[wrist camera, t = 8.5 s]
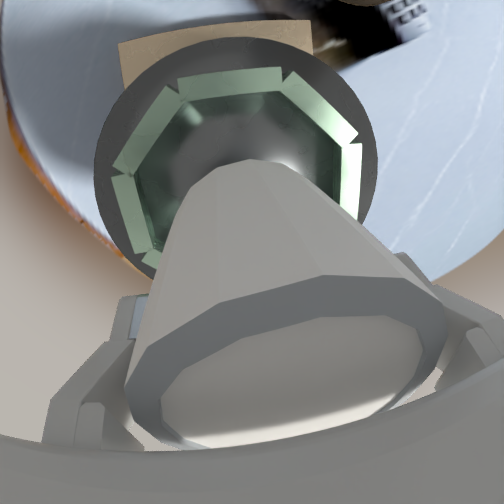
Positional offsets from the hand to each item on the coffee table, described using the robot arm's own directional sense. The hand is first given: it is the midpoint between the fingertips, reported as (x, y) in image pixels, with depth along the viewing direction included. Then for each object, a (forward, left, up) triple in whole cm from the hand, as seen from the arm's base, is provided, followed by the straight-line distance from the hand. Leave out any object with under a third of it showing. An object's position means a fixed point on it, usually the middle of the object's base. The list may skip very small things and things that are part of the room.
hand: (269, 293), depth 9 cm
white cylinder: (0, 0, -4) cm, 4 cm away
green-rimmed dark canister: (0, 0, -19) cm, 19 cm away
